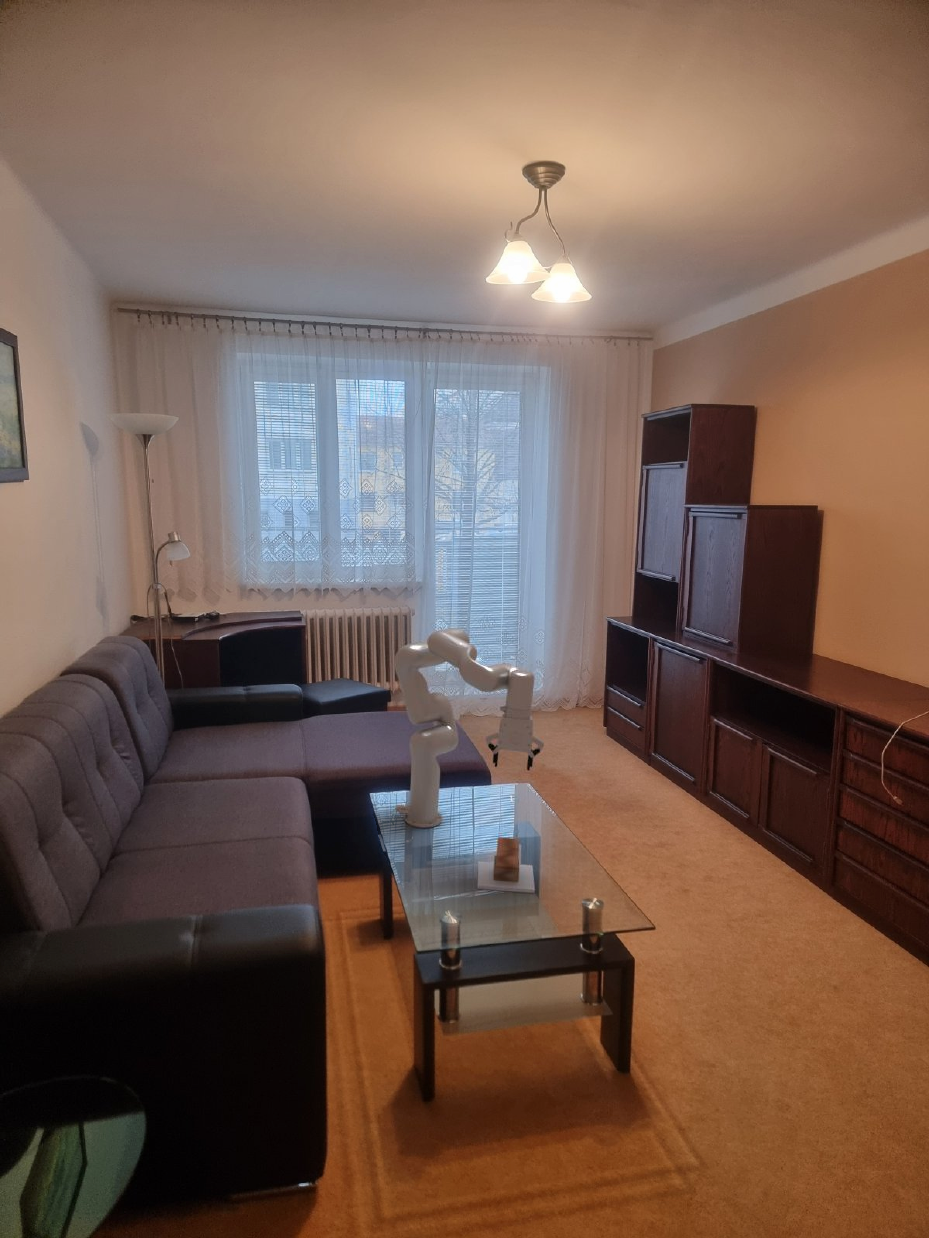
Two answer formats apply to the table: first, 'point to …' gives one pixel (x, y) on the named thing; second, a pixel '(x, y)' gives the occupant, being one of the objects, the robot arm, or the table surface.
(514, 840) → the terracotta cube
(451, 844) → the table surface
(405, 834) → the table surface
